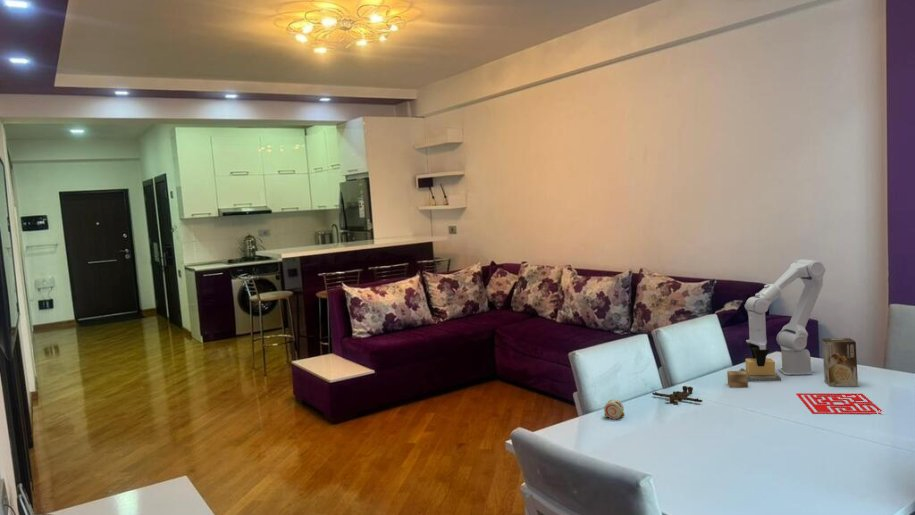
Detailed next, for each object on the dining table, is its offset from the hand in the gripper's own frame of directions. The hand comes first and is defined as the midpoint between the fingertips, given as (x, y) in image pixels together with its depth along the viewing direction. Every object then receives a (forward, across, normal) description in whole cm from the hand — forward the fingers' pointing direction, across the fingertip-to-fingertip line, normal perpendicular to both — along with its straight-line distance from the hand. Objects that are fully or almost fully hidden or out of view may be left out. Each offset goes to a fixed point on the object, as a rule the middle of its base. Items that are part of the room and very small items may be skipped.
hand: (758, 364), depth 234 cm
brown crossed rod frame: (+6, +25, -32) cm, 41 cm away
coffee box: (+5, +11, +24) cm, 27 cm away
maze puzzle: (+6, +32, +16) cm, 36 cm away
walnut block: (+5, +11, -10) cm, 16 cm away
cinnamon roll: (+5, +44, -55) cm, 71 cm away
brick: (+4, 0, 0) cm, 4 cm away
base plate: (+5, 0, 0) cm, 5 cm away
